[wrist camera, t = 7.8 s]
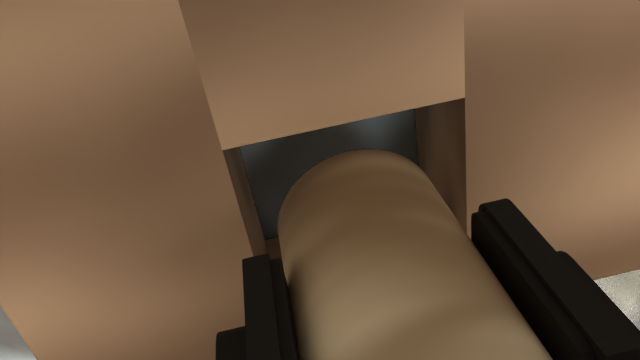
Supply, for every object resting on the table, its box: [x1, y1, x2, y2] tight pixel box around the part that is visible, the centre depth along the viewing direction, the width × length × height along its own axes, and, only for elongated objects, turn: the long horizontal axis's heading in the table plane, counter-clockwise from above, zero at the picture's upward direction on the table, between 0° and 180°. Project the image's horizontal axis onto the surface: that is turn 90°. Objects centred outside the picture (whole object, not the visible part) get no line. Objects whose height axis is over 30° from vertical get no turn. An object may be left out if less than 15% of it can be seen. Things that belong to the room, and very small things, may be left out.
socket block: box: [0, 0, 640, 360], centre depth 13 cm, size 14×18×4 cm
